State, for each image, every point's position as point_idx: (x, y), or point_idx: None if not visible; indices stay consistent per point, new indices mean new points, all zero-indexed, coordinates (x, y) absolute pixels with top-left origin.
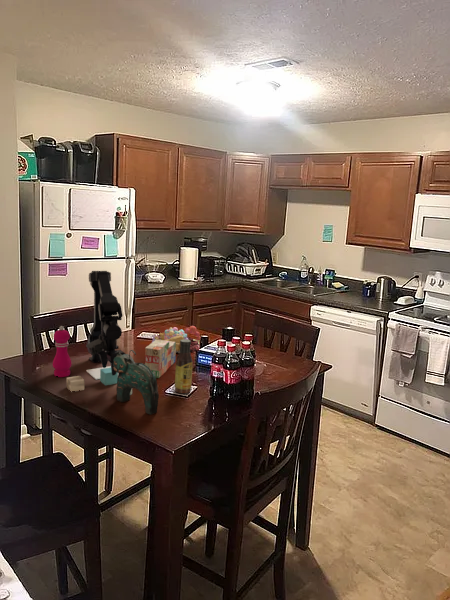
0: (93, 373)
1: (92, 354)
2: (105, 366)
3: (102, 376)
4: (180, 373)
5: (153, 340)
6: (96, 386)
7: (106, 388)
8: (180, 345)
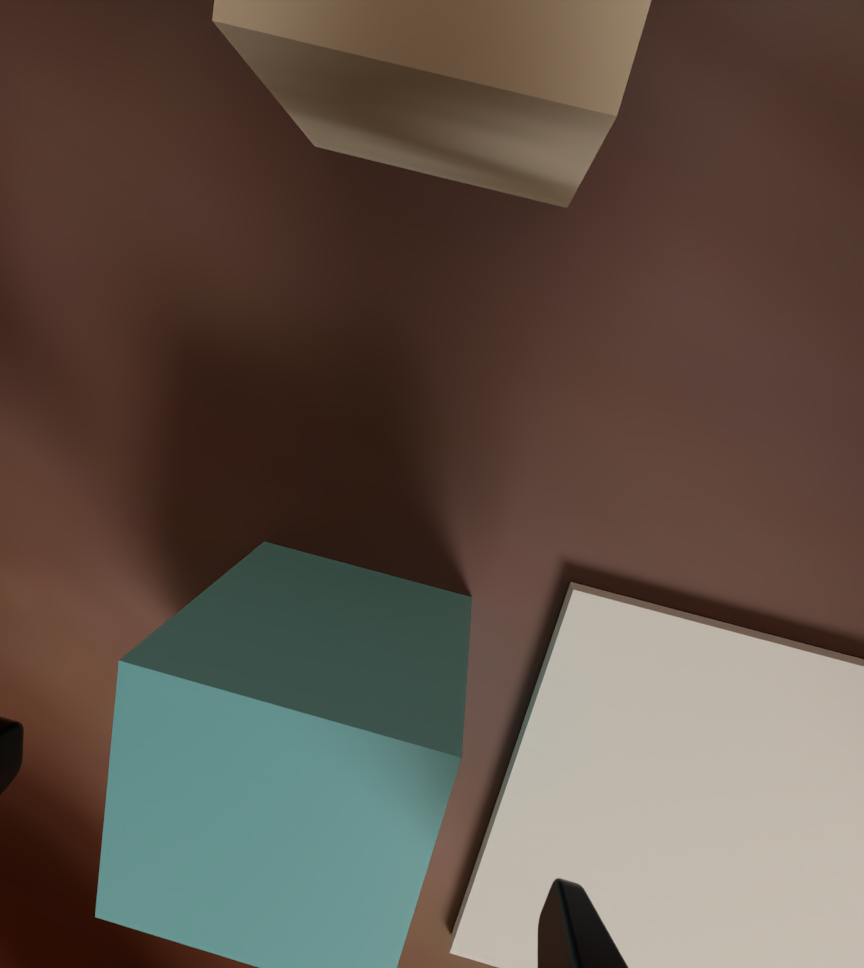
0: (825, 714)
1: None
2: (541, 950)
3: (349, 632)
4: None
5: None
6: (314, 412)
7: (148, 481)
8: None
